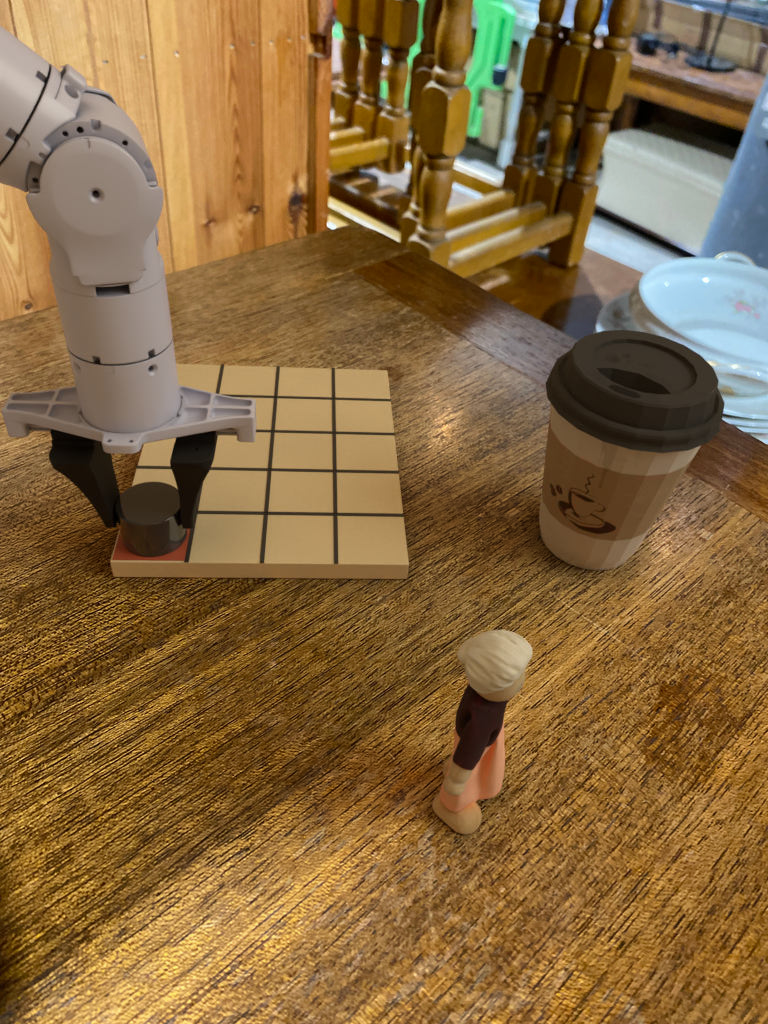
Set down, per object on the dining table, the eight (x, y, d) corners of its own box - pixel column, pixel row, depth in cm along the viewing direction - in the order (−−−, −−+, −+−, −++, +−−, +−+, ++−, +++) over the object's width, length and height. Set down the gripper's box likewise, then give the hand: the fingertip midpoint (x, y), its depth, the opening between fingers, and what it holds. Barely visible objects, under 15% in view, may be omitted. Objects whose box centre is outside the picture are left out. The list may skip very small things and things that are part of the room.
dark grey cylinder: (115, 557, 52) (108, 524, 50) (128, 513, 55) (121, 480, 53) (183, 558, 52) (178, 525, 50) (191, 513, 56) (187, 481, 54)
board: (113, 577, 53) (109, 560, 52) (168, 377, 71) (166, 362, 70) (407, 579, 54) (409, 563, 53) (386, 383, 73) (387, 369, 72)
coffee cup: (486, 549, 57) (524, 373, 47) (546, 471, 65) (590, 305, 55) (634, 617, 53) (711, 441, 43) (680, 526, 61) (754, 357, 51)
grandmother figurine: (495, 859, 40) (547, 720, 32) (421, 845, 40) (454, 703, 32) (502, 731, 46) (548, 584, 37) (438, 719, 46) (469, 571, 38)
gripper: (-40, 373, 40) (23, 559, 49) (246, 381, 41) (256, 561, 50) (2, 308, 45) (52, 487, 54) (254, 317, 46) (262, 490, 56)
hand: (151, 518), depth 53 cm, fingers closed on dark grey cylinder, 4 cm apart
